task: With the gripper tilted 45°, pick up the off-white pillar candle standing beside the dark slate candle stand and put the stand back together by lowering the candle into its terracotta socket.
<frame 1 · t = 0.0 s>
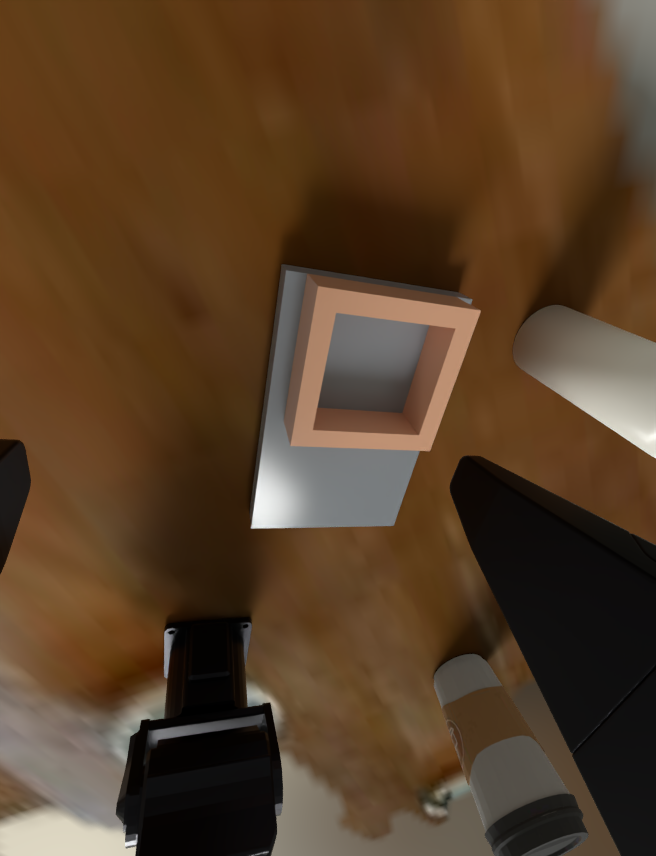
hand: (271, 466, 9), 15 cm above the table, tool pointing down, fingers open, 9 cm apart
candle: (544, 340, 27), on the table
candle stand: (344, 412, 26), on the table
coffee cup: (457, 668, 47), on the table
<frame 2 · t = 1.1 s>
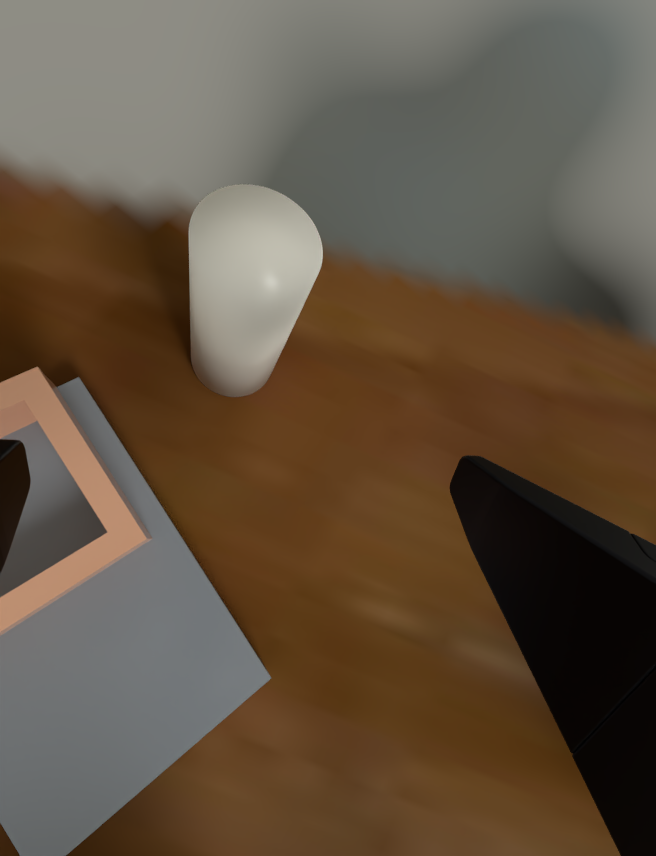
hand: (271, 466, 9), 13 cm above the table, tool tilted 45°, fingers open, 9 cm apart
candle: (233, 358, 23), on the table
candle stand: (70, 593, 19), on the table
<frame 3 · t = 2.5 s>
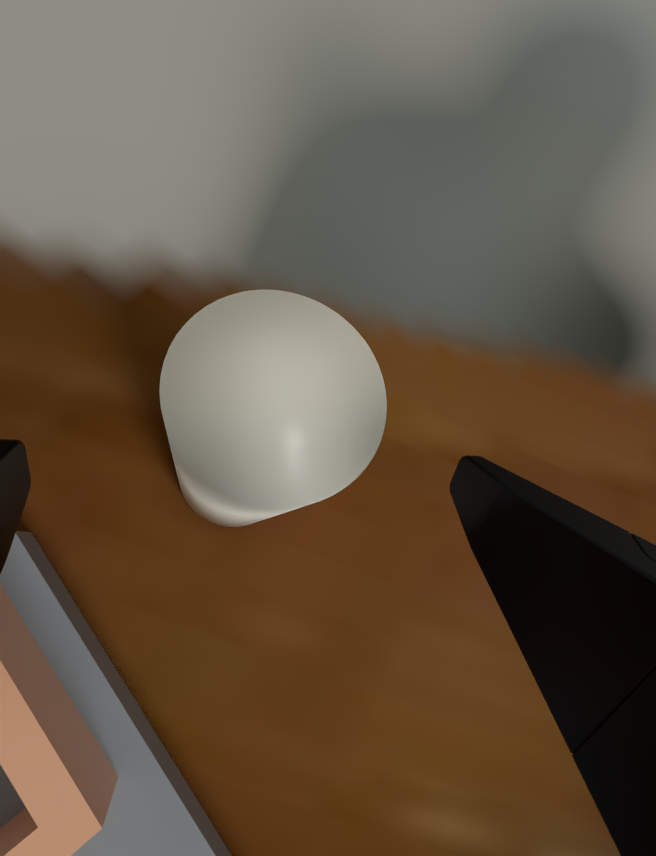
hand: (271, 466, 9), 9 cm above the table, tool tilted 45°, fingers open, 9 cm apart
candle: (235, 471, 17), on the table
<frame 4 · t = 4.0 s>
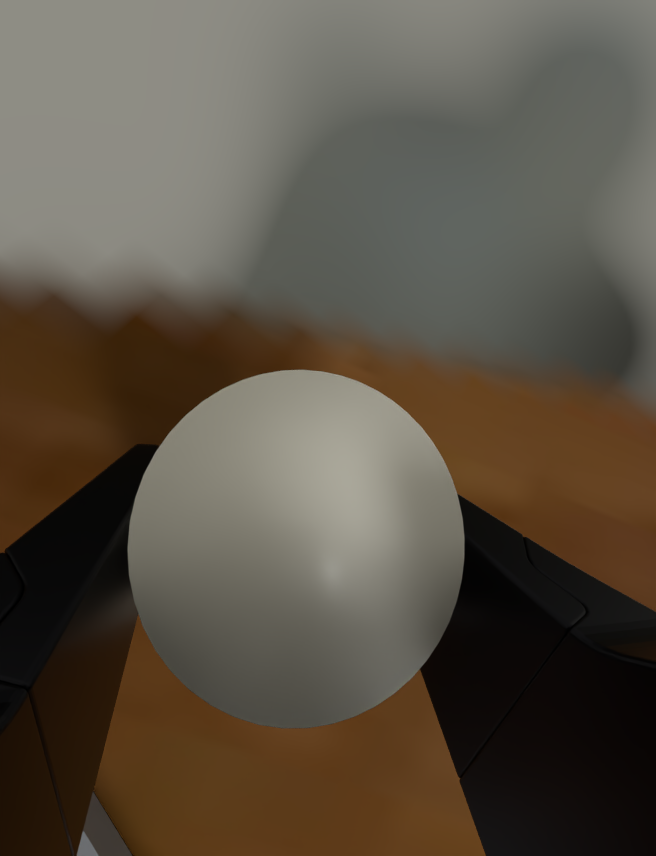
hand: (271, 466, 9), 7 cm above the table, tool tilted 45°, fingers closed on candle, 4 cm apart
candle: (238, 536, 15), on the table, touching gripper
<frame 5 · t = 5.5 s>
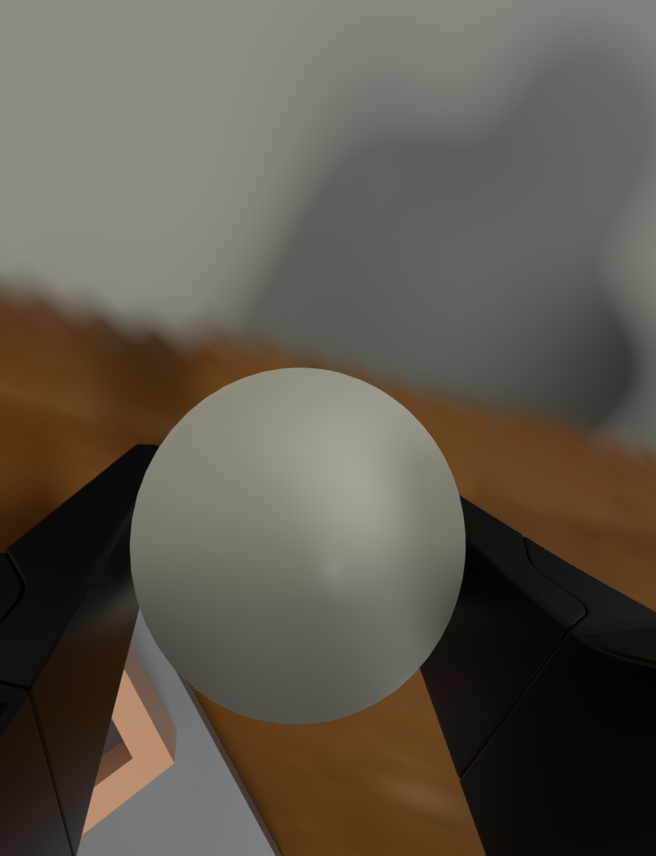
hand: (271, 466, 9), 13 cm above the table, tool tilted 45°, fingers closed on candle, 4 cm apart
candle: (239, 535, 15), point 7 cm above the table, touching gripper
candle stand: (84, 786, 17), on the table
when the fingers open (9 cm above the table, at t = 7.4 s): candle drops 1 cm, resting on candle stand.
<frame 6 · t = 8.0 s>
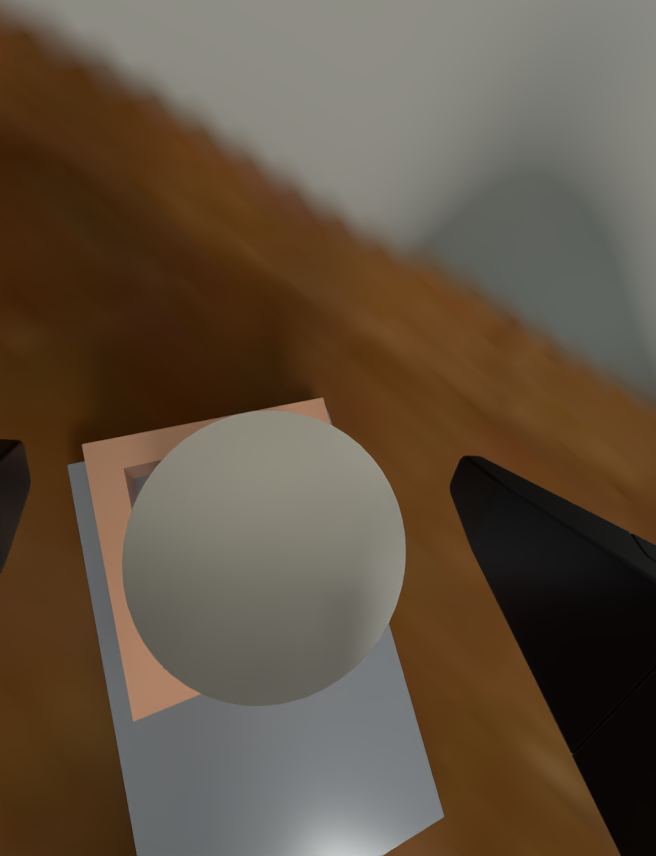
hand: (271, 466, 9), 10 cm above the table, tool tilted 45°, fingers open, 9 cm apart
candle: (235, 537, 16), point 2 cm above the table, touching candle stand
candle stand: (255, 636, 17), on the table
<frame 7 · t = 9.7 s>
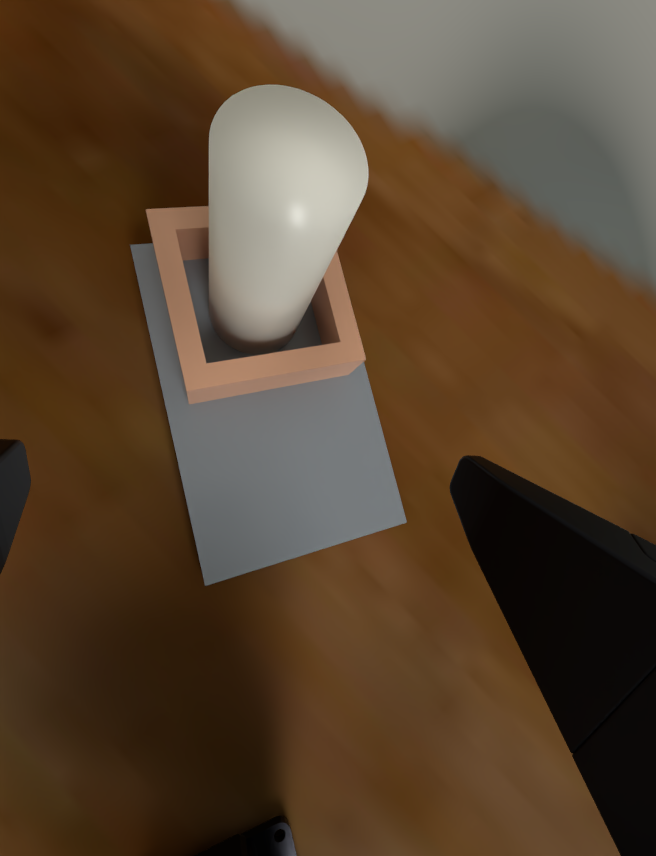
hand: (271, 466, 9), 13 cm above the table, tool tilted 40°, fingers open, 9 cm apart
candle: (254, 312, 21), point 2 cm above the table, touching candle stand
candle stand: (269, 395, 22), on the table
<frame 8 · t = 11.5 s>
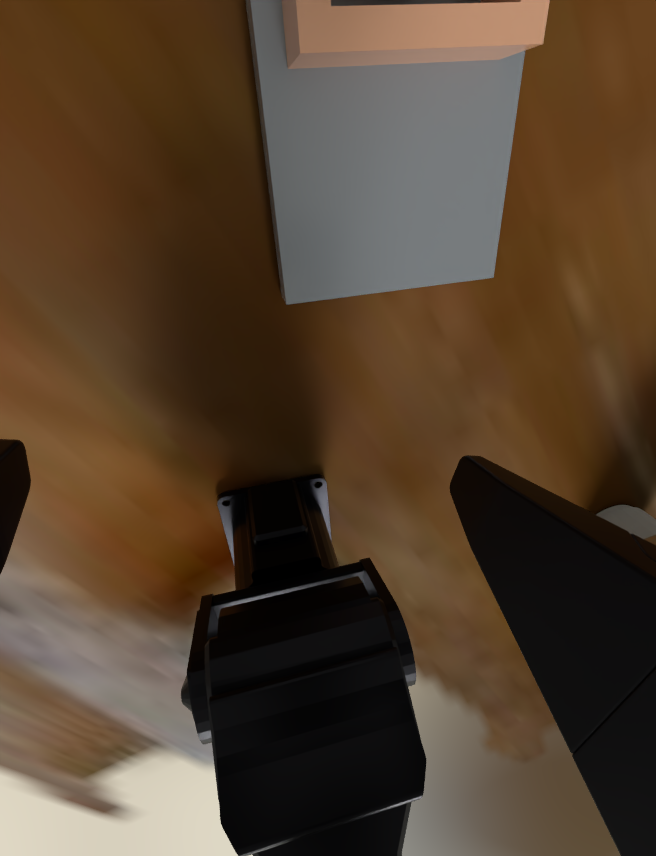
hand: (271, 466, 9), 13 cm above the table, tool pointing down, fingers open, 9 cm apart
candle stand: (384, 71, 17), on the table
coffee cup: (603, 529, 36), on the table
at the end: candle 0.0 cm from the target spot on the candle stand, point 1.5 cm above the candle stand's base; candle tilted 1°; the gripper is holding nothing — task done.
